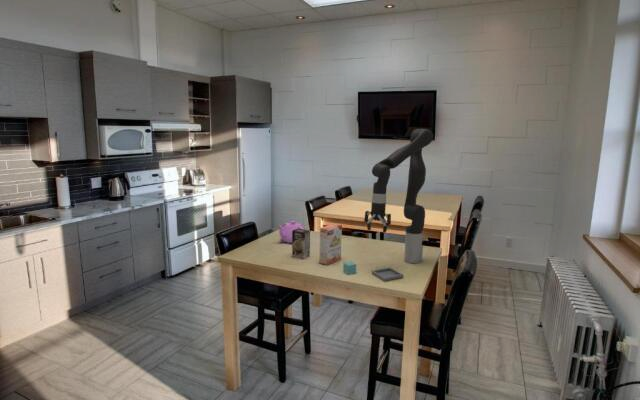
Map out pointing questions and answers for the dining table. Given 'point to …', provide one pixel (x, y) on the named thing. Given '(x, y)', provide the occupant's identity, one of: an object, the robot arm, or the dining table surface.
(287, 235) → the teapot
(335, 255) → the cracker box
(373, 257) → the dining table surface
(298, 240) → the coffee box
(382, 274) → the tray
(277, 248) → the dining table surface
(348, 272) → the teal cube
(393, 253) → the dining table surface
